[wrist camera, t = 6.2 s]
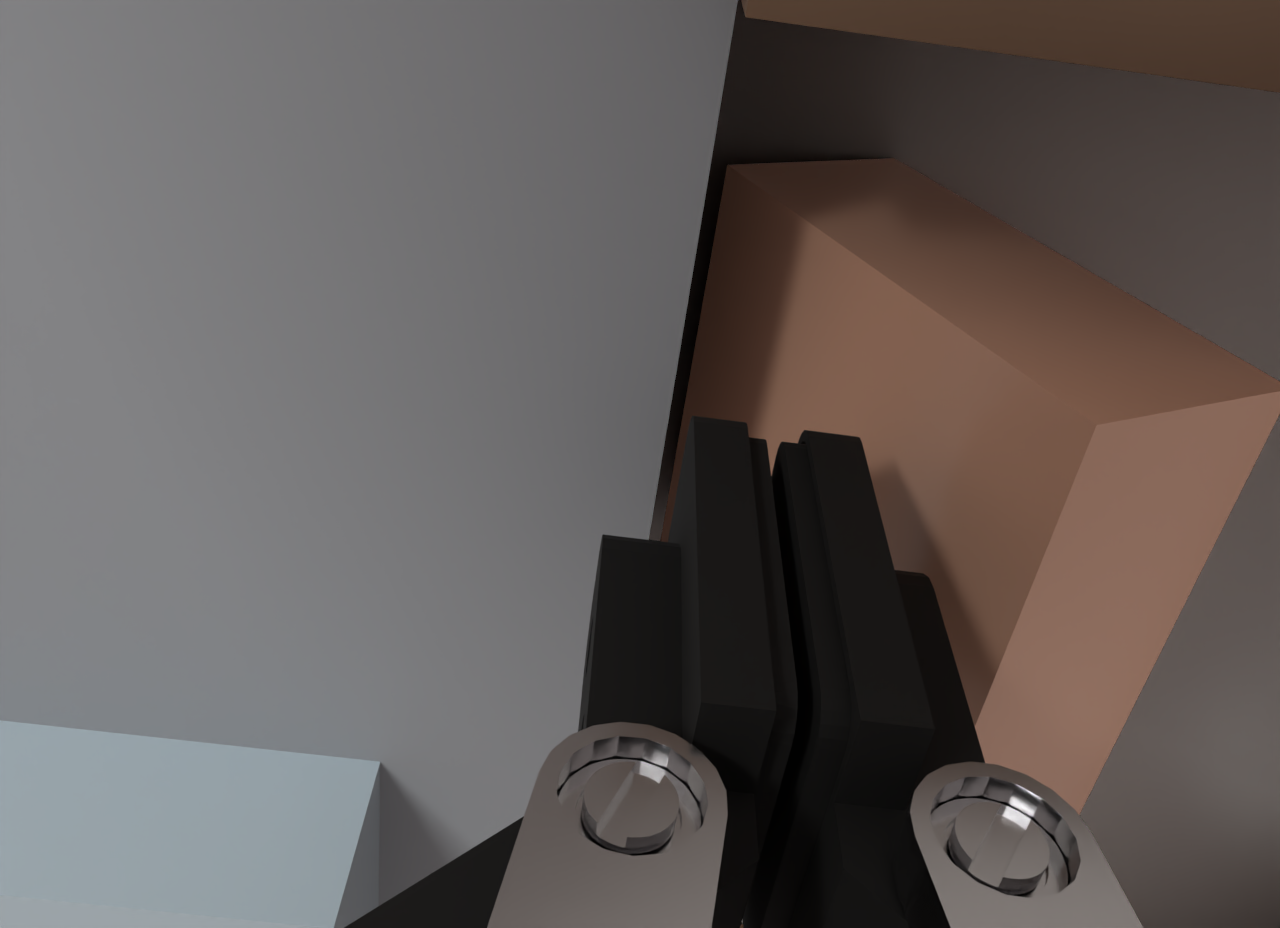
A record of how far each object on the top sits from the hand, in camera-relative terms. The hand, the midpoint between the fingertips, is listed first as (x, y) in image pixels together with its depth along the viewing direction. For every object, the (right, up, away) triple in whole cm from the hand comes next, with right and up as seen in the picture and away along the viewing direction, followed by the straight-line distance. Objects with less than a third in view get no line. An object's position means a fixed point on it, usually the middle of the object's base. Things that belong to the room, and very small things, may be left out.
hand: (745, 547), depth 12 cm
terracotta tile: (+1, 0, +1) cm, 2 cm away
